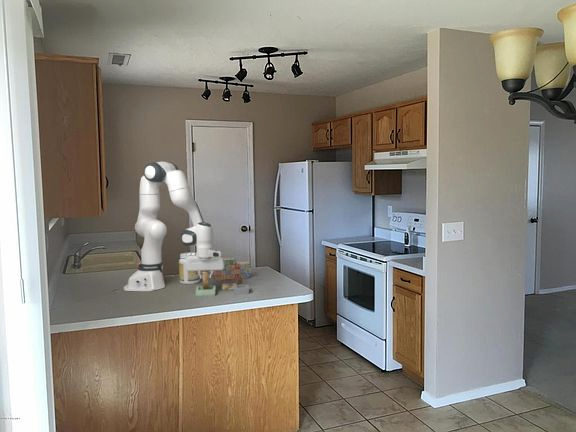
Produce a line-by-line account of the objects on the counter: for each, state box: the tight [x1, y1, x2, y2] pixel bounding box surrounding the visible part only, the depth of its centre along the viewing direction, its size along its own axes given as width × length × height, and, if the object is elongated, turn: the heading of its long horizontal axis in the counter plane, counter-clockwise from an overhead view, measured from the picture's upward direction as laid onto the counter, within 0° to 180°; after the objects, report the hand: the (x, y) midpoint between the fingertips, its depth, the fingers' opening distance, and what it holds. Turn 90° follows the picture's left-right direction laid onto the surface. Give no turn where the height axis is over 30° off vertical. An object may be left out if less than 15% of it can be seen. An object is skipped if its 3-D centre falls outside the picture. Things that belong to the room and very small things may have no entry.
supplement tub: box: [178, 252, 201, 285], centre depth 288 cm, size 12×12×17 cm
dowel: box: [201, 270, 210, 290], centre depth 263 cm, size 3×3×10 cm
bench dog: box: [236, 277, 243, 285], centre depth 274 cm, size 3×5×6 cm, turn 6°
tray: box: [195, 284, 217, 297], centre depth 264 cm, size 10×10×3 cm
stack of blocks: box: [213, 257, 251, 281], centre depth 298 cm, size 21×6×12 cm, turn 109°
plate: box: [221, 282, 237, 291], centre depth 274 cm, size 8×6×2 cm
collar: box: [233, 284, 250, 295], centre depth 267 cm, size 8×8×3 cm
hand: (205, 278), depth 263 cm, fingers closed on dowel, 3 cm apart
